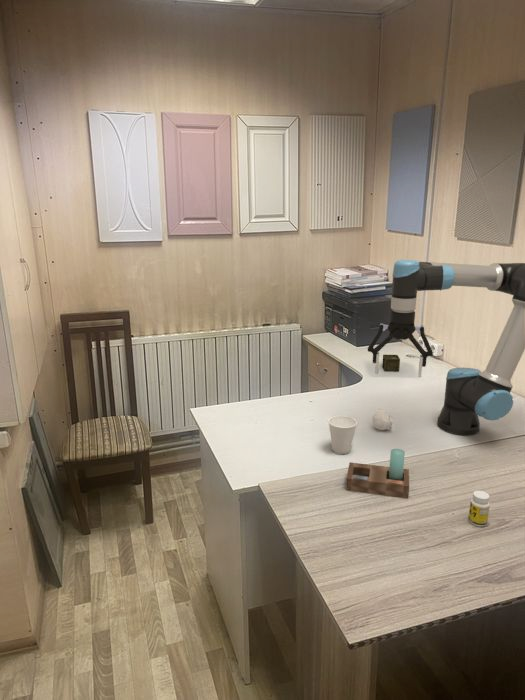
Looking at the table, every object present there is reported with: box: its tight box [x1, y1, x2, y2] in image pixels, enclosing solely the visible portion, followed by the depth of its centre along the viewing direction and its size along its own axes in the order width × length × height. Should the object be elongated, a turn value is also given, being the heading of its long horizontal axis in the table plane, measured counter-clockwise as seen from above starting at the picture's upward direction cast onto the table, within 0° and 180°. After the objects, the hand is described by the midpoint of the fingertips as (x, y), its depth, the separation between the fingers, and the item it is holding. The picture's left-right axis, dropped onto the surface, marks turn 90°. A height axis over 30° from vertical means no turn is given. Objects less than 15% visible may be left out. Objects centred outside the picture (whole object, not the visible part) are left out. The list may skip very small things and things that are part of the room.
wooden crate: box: [381, 354, 401, 373], centre depth 262 cm, size 7×7×7 cm
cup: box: [327, 415, 358, 455], centre depth 177 cm, size 10×10×11 cm
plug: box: [389, 448, 406, 481], centre depth 154 cm, size 4×4×12 cm
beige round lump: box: [371, 409, 394, 431], centre depth 194 cm, size 8×8×8 cm
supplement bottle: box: [468, 490, 491, 527], centre depth 138 cm, size 5×5×8 cm
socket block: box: [345, 461, 410, 499], centre depth 156 cm, size 18×10×4 cm, turn 76°
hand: (398, 374), depth 168 cm, fingers open, 13 cm apart
